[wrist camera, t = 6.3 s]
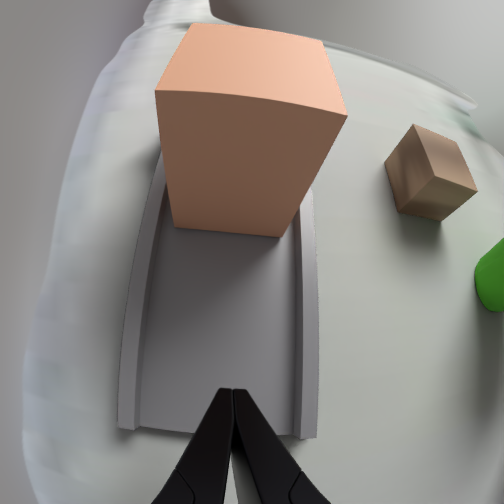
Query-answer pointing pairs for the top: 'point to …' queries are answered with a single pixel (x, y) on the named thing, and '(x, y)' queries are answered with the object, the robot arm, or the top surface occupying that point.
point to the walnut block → (428, 175)
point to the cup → (491, 278)
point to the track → (219, 322)
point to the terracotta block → (245, 126)
